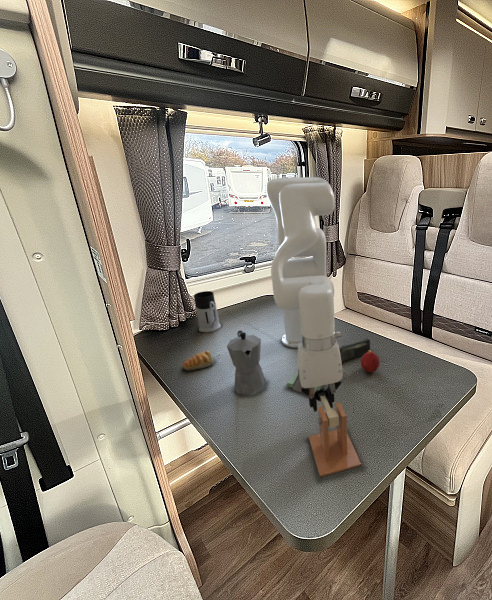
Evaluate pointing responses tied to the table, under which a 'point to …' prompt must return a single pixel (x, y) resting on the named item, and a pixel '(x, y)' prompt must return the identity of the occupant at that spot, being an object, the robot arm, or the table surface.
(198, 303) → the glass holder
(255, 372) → the coffeepot
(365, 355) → the onion
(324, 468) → the switch bracket
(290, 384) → the control block
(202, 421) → the table surface
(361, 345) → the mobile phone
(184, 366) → the pastry
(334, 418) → the switch lever
